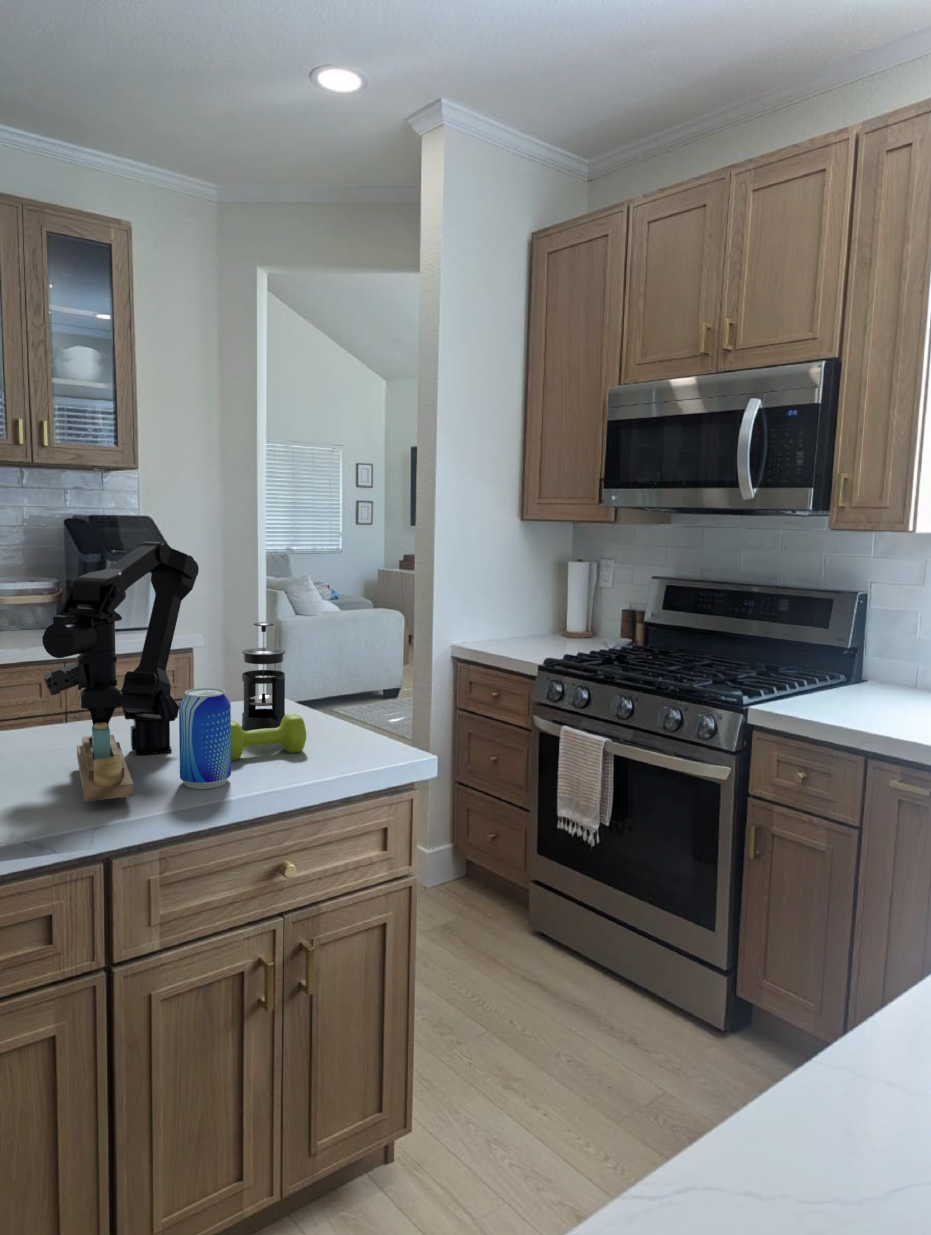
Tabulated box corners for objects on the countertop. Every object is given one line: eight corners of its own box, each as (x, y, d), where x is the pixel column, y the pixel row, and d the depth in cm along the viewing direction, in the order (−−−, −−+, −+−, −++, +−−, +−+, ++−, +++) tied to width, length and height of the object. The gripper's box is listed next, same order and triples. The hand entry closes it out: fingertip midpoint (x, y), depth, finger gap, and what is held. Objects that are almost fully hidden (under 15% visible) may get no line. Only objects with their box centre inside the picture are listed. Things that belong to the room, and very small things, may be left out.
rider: (108, 753, 152) (108, 720, 151) (110, 759, 148) (109, 725, 147) (92, 754, 150) (91, 721, 150) (93, 760, 147) (93, 727, 146)
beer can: (203, 793, 144) (202, 699, 142) (169, 784, 149) (168, 692, 147) (241, 781, 151) (241, 691, 149) (207, 772, 156) (207, 684, 154)
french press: (230, 727, 188) (230, 621, 185) (267, 720, 195) (267, 618, 192) (262, 737, 180) (262, 627, 177) (299, 730, 187) (300, 624, 184)
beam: (119, 763, 159) (118, 723, 159) (133, 808, 136) (132, 761, 135) (77, 767, 156) (76, 726, 155) (84, 813, 133) (83, 766, 132)
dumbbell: (225, 765, 161) (224, 727, 160) (213, 754, 167) (213, 718, 166) (309, 755, 169) (310, 718, 168) (295, 745, 176) (295, 710, 175)
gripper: (45, 642, 155) (47, 728, 157) (45, 660, 138) (48, 755, 140) (112, 640, 160) (114, 723, 162) (121, 657, 143) (122, 749, 145)
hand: (99, 737), depth 152 cm, fingers closed
